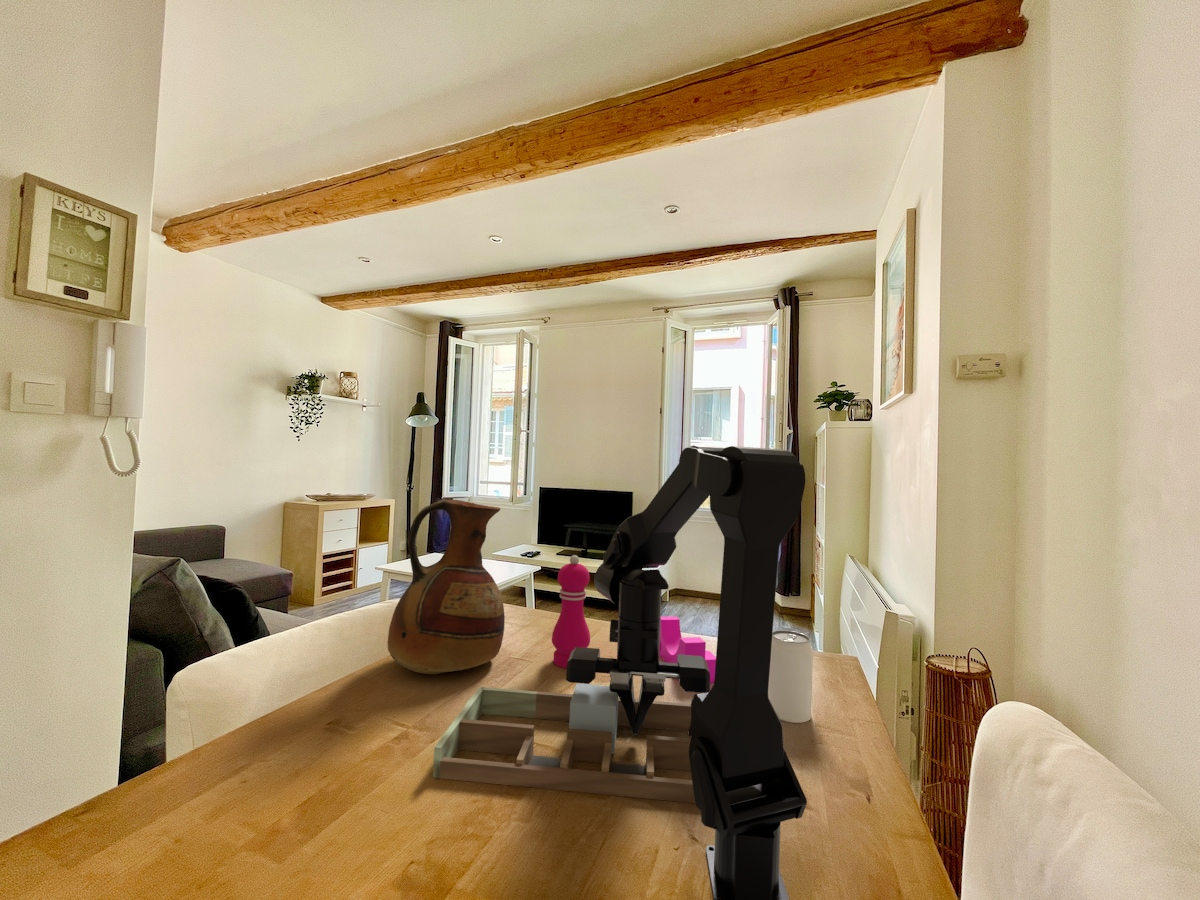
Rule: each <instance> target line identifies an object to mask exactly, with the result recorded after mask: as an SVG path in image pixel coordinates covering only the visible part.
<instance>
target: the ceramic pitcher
mask: <svg viewBox="0 0 1200 900" xmlns="http://www.w3.org/2000/svg"><path fill="white" fill-rule="evenodd" d="M500 510H501V507H499V506H492V505H491V506H488V505H483V504H477V503H474V502H469V501H465V500H461V499H460V500H459V499H451V498H443V499H441V500H438V501H437V502H436V501H435V502H433V503H431V504H429V505H427V506H424V507H423V508H422V509H421V510H419V511H418V512H417V514H416V515H415V518H414V520H413V521H412V524H411V526H410V528H409V532H408V538H407V547H408V548H407V549H408V553H409V559H410V560H409V561H410V566H411V571H412V579H411V582H410V584H409V586H407V588H406V590H405V591H404V592H403V594H402V595H401V596H400V598H399V600H398V602H397V604H396V606H395V608H394V610H393V611H394V612H393V614H392V616H391V621H390V624H389V627H388V636H387V651H388V653H389V654H390V657H391V659H393V660H394V661H395V662H397V663H398V664H399V665H400V666H402V667H403V668H406V669H408V670H409V671H413V672H416V673H418V674H423V675H425V674H426V675H440V674H444V673H448V672H449V673H452V672H455V671H457V672H458V671H462V670H468V669H471V668H475V667H479V666H481V665H483V664H486V663H489V662H490V661H491V660H494V659H495V658H496V657H497V656H498V654H499V652H500V650H501V647H502V644H503V639H504V635H505V634H504V633H505V620H506V619H505V608H504V607H505V606H504V601H503V596H502V593H501V591H500V589H499V587H498V584H497V583H496V581H495V580H494V578H493V576H492V575H491V574H490V573H489V572H488V570H487V569H486V568H485V567H484V565H483V554H482V548H483V545H484V543H485V541H486V537H487V527H488V526H487V525H488V523H489V522H490V520H491V519H492V518H493V517H494V516H495V515H496V514H498V513H499V512H500ZM435 511H436V512H437V511H444V512H446V513H447V515H448V516H449V519H450V532H449V539H448V542H447V543H448V544H447V546H446V549H445V551H444V553H443V555H442V557H440V559H439V560H438V561H436V562H435V563H433V564H431V565H428V566H424V565H422V563H421V562H420V559H419V557H418V552H417V546H416V545H417V544H416V543H417V542H416V539H417V535H418V532H419V529H420V526H421V524H422V522H423V520H425V518H426V517H427V516H428V514H431V513H433V512H435Z"/></svg>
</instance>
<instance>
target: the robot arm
mask: <svg viewBox="0 0 1200 900" xmlns="http://www.w3.org/2000/svg"><path fill="white" fill-rule="evenodd" d="M805 486H806V472H805V468H804V465H803V464H801V462H799V460H798V458H797V456H796V455H795V454H793V453H792V452H791V451H790V450H786V449H782V448H769V447H768V448H767V447H751V446H735V445H732V446H726V447H722V446H712V445H691V446H689V447H688V446H687V447H685V448H683V450H682V451H681V453H680V455H679V459H678V463H677V465H676V467H675V468H674V469H673V471H671V474H670V475H669V476H668V478H667V479H666V480H665V482H664V483H663V485H662V486H661V488H660V489H659V490H658V491H657V493H656V494H655V496H654V497H653V498H652V500H651V501H650V503H649V504H648V505H647V506H646V508H645V509H644V510H643V511H641V512H639V513H636V514H633V515H631V516H628V517H626V519H625V520H623V522H622V523H621V524H619V525H618V526H617V528H616V530H615V532H614V533H613V536H612V538H611V540H610V542H609V545H608V547H607V548H606V551H605V553H604V555H603V557H602V560H603V561H602V563H601V564H600V565H599V566H598V568H597V569H596V572H595V573H594V576H593V582H594V583H593V585H594V587H595V589H596V591H597V592H598V593H599V594H600V595H602V596H603V597H605V598H606V599H607V600H609V601H611V602H612V603H613V604H615V605H617V606H618V618H617V619H613V618H612V619H610V625H609V638H608V639H609V640H608V641H609V642H610V643H617V648H616V650H617V651H616V658H613V657H612V658H610V657H601V650H600V648H598V647H597V648H595V647H587V648H583V647H576V648H575V649H574V650H573V651H572V652H571V655H570V657H569V659H568V662H567V668H566V674H565V675H566V676H565V677H566V678H565V680H566V681H567V682H569V683H575V684H577V683H580V684H590V683H592V682H593V681H594V680H595V679H596V676H597V673H599V674H609V678H610V681H609V686H610V687H609V690H610V691H611V692H616V693H617V694H618V698H620V700H621V702H622V704H623V707H624V709H625V711H626V714H627V718H628V721H629V724H630V726H629V727H630V730H631V733H632V735H639V733H640V730H641V729H642V727H641V726H642V723H643V721H644V718H645V716H646V714H647V711H648V710H649V708H650V706H651V705H652V703H653V701H656V700H655V699H656V698H657V697H662V696H663V697H664V695H665V682H666V679H675V680H678V681H679V683H678V684H679V686H680V687H681V688H682V689H683V691H684V692H685V693H686V692H687V693H695V694H694V695H693V697H692V700H691V703H690V704H691V723H690V728H689V730H688V731H687V735H688V736H690V739H691V741H690V746H689V760H690V767H691V771H690V774H691V780H692V783H693V791H694V797H695V803H694V804H695V807H696V808H697V809H698V810H699V811H700V812H701V815H700V817H701V818H700V822H701V823H702V825H703V826H704V827H707V828H710V829H713V830H714V831H715V832H714V845H712V844H708V845H706V847H705V855H706V861H707V867H708V873H709V878H710V886H711V892H712V897H713V900H790V898H789V895H788V891H787V888H786V886H785V882H784V879H783V877H782V873H781V871H780V855H781V854H780V853H781V852H780V851H781V822H782V823H783V822H786V821H788V820H793V819H796V820H797V819H801V818H802V817H803V815H804V813H805V809H806V807H807V803H808V799H807V798H806V795H805V793H804V791H803V788H802V786H801V783H800V782H799V778H798V777H797V775H796V772H795V770H794V768H793V766H792V763H791V761H790V759H789V757H788V754H787V752H786V750H785V747H784V729H783V724H782V720H780V719H779V717H778V715H777V713H776V712H775V710H774V708H773V706H772V704H771V702H770V700H769V697H768V686H769V673H770V660H771V647H772V633H773V632H774V619H775V617H774V616H775V605H776V593H777V592H776V590H777V577H778V566H779V553H780V552H779V551H780V550H779V549H780V545H781V543H782V542H783V540H784V539H785V537H786V535H787V534H788V533H789V531H790V530H791V529H792V527H793V525H794V524H795V523H796V521H797V520H798V518H799V515H800V511H801V505H802V502H803V497H804V492H805V488H806V487H805ZM708 498H709V508H710V512H711V514H712V516H713V518H714V520H715V522H716V524H717V526H718V528H719V530H720V531H721V534H722V536H723V541H724V542H723V543H724V544H723V557H722V569H721V572H722V573H721V582H720V583H721V584H720V598H719V599H720V600H719V609H718V610H719V611H718V627H717V641H716V653H715V657H716V665H715V679H714V683H713V686H712V687H711V683H710V672H709V669H708V665H707V662H706V660H705V659H704V658H703V657H702V656H693V655H680V654H678V656H677V663H668V662H665V661H660V654H659V652H660V623H661V617H662V614H661V613H662V592H663V591H662V590H668V589H669V583H668V581H667V579H665V577H663V575H662V573H661V572H660V569H659V567H660V566H665V565H666V564H667V563H668V562H669V560H670V559H671V556H672V555H673V553H674V552H675V550H676V549H677V542H676V535H678V533H679V531H680V530H681V529H682V528H683V527H684V526H685V525H686V524H687V522H688V521H689V519H691V518H692V517H693V515H694V514H695V513H696V512H697V510H699V508H700V507H701V506H702V505H703V503H705V502H706V500H707V499H708ZM635 676H636V677H641V682H640V689H639V695H638V700H639V701H638V707H637V713H636V710H635V689H634V677H635Z"/></svg>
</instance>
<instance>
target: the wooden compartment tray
mask: <svg viewBox="0 0 1200 900" xmlns="http://www.w3.org/2000/svg"><path fill="white" fill-rule="evenodd" d="M572 696H573V694H572V693H561V692H560V693H559V692H547V691H537V690H536V691H534V690H523V689H511V688H497V687H485V686H484V687H483V686H479V687H478V688H477V689H476V690H475V692H474V693H473V695H472V696H471V697H470V698H469V699H468V701H467V703H466V704H465V705H464V706H463V708H462V710H461V711H460V712H459V713H458V715H457V716H456V718H455V719H454V720H453V721H452V723H451V724H450V725H449V727H448V728H447V729H446V731H445V732H444V734H443V735H442V737H440V739H439V740H438V741H437V743H436V744H435V745H434V748H433V766H432V767H433V768H432V769H433V770H432V778H433V779H442V780H443V779H444V780H455V781H464V782H465V781H466V782H474V783H485V784H493V785H494V784H496V785H504V786H505V785H506V786H512V787H513V786H514V787H515V786H516V787H526V788H535V789H546V790H555V791H556V790H557V791H566V792H567V791H568V792H577V793H585V794H586V793H588V794H596V795H597V794H598V795H608V796H618V797H629V798H637V799H638V798H640V799H649V800H656V801H657V800H659V801H666V802H667V801H670V802H679V803H688V804H690V803H691V804H696V803H695V797H694V791H693V783H692V779H683V778H673V777H661V776H655V769H664V770H674V771H675V770H676V771H685V772H691V767H690V760H689V746H690V741H691V738H687V737H685V738H684V737H675V736H672V737H671V736H663V735H653V734H652V735H649V734H646V747H645V748H646V750H645V751H646V753H645V754H646V755H645V765H641V764H630V763H629V764H628V763H620V762H619V763H618V762H612V753H611V748H612V732H607V731H595V730H584V729H572V728H569V727H568V728H567V734H566V743H565V746H564V749H563V752H562V753H563V754H562V757H553V756H544V755H543V756H542V755H534V744H535V743H534V742H535V725H534V724H525V723H524V724H523V723H512V722H503V721H502V722H501V721H491V720H479V719H480V717H481V715H491V716H503V717H504V716H505V717H514V718H515V717H517V718H529V719H540V720H548V721H549V720H551V721H552V720H553V721H560V722H561V721H563V722H569V721H570V702H571V699H572ZM638 701H639V699H635V710H636V713H637V707H638ZM690 723H691V703H683V702H670V701H659V700H658V701H657V700H654V701H653V703H652V705H651V706H650V708H649V710H648V711H647V714H646V716H645V718H644V721H643V723H642V726H641V728H643V729H644V728H646V729H656V730H668V731H669V730H670V731H679V732H688V730H689V728H690ZM617 726H620V727H621V726H622V727H630V724H629V721H628V718H627V714H626V711H625V709H624V707H623V704H622V702H621V700H620V698H619V697H618V717H617ZM458 751H469V752H480V753H488V754H489V753H491V754H502V755H511V756H512V755H513V756H517V757H516V760H515V761H516V762H515V763H513V762H512V763H510V762H502V761H501V762H500V761H492V760H491V761H490V760H479V759H468V758H458V757H455V755H456V754H457V752H458ZM573 761H575V762H576V761H577V762H588V763H601V771H597V770H588V769H587V770H585V769H577V768H576V769H575V768H572V763H573Z"/></svg>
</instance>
